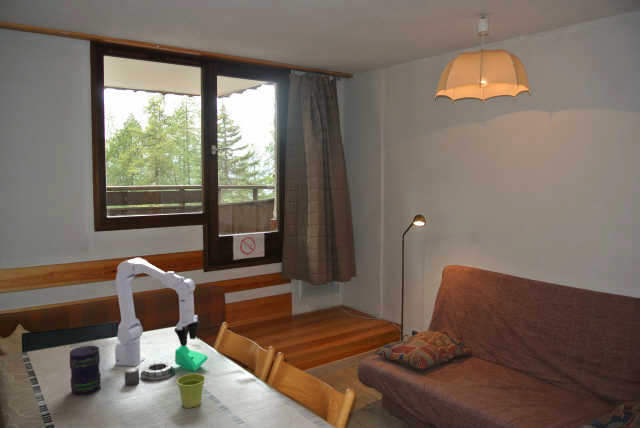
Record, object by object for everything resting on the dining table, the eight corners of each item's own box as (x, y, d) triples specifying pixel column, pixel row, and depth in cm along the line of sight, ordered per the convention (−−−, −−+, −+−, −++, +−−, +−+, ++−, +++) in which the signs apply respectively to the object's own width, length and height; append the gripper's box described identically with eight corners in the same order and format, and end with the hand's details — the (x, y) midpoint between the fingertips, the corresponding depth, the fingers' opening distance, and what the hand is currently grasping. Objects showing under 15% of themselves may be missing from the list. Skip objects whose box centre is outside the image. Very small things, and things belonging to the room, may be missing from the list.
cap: (122, 386, 177) (121, 372, 176) (129, 380, 182) (128, 367, 181) (135, 386, 176) (134, 373, 176) (141, 381, 181) (141, 367, 181)
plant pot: (211, 399, 165) (210, 375, 164) (195, 412, 156) (194, 386, 155) (188, 396, 168) (187, 372, 167) (171, 408, 159) (170, 383, 158)
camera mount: (209, 360, 194) (201, 340, 190) (196, 373, 188) (187, 352, 184) (190, 354, 201) (182, 334, 197) (177, 366, 195) (168, 346, 192)
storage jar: (70, 398, 167) (68, 357, 166) (71, 388, 176) (69, 348, 175) (101, 392, 172) (100, 352, 170) (100, 382, 180) (98, 344, 179)
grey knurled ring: (134, 380, 181) (133, 373, 181) (150, 367, 194) (149, 360, 194) (166, 381, 180) (166, 374, 180) (180, 368, 193) (180, 361, 193)
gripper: (187, 314, 185) (189, 348, 186) (203, 304, 199) (205, 336, 200) (170, 313, 187) (172, 347, 187) (188, 304, 201) (189, 336, 202)
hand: (188, 342), depth 194 cm, fingers open, 7 cm apart
